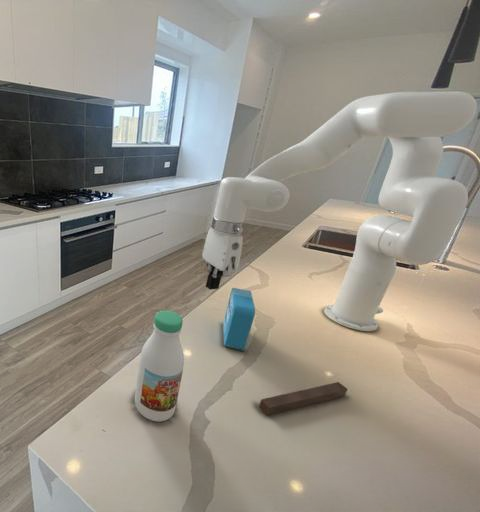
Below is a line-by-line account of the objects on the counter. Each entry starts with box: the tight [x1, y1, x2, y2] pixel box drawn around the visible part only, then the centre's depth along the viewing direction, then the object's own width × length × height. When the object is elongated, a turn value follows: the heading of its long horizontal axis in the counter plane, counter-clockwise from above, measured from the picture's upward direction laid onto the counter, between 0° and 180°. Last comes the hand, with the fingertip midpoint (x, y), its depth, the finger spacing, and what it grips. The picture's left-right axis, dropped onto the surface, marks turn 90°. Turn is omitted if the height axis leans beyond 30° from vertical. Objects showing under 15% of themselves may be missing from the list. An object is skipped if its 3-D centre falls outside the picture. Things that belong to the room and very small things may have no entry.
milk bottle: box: [134, 310, 185, 422], centre depth 53 cm, size 8×8×20 cm
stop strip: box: [258, 381, 349, 416], centre depth 59 cm, size 20×2×2 cm, turn 106°
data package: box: [222, 287, 256, 351], centre depth 76 cm, size 12×4×12 cm, turn 159°
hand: (211, 287), depth 85 cm, fingers closed
